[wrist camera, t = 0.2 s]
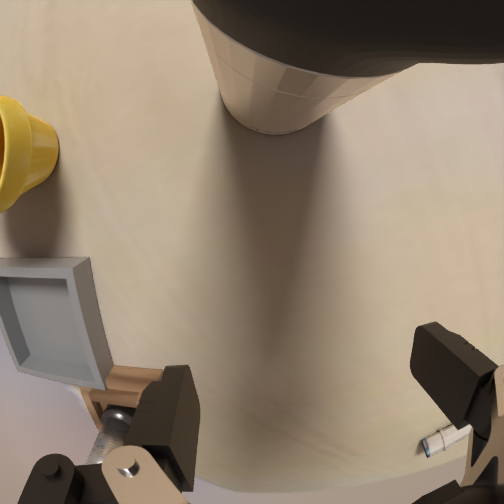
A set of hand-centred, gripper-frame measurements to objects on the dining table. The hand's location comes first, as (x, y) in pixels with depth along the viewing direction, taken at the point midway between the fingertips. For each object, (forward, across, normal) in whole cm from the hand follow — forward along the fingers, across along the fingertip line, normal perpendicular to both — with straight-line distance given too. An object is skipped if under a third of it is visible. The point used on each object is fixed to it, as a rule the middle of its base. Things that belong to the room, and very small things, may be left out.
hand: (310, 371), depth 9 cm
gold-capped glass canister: (+16, +18, +17) cm, 29 cm away
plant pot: (+18, +22, -13) cm, 31 cm away
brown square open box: (+19, +18, +17) cm, 31 cm away
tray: (+19, +24, +5) cm, 31 cm away
